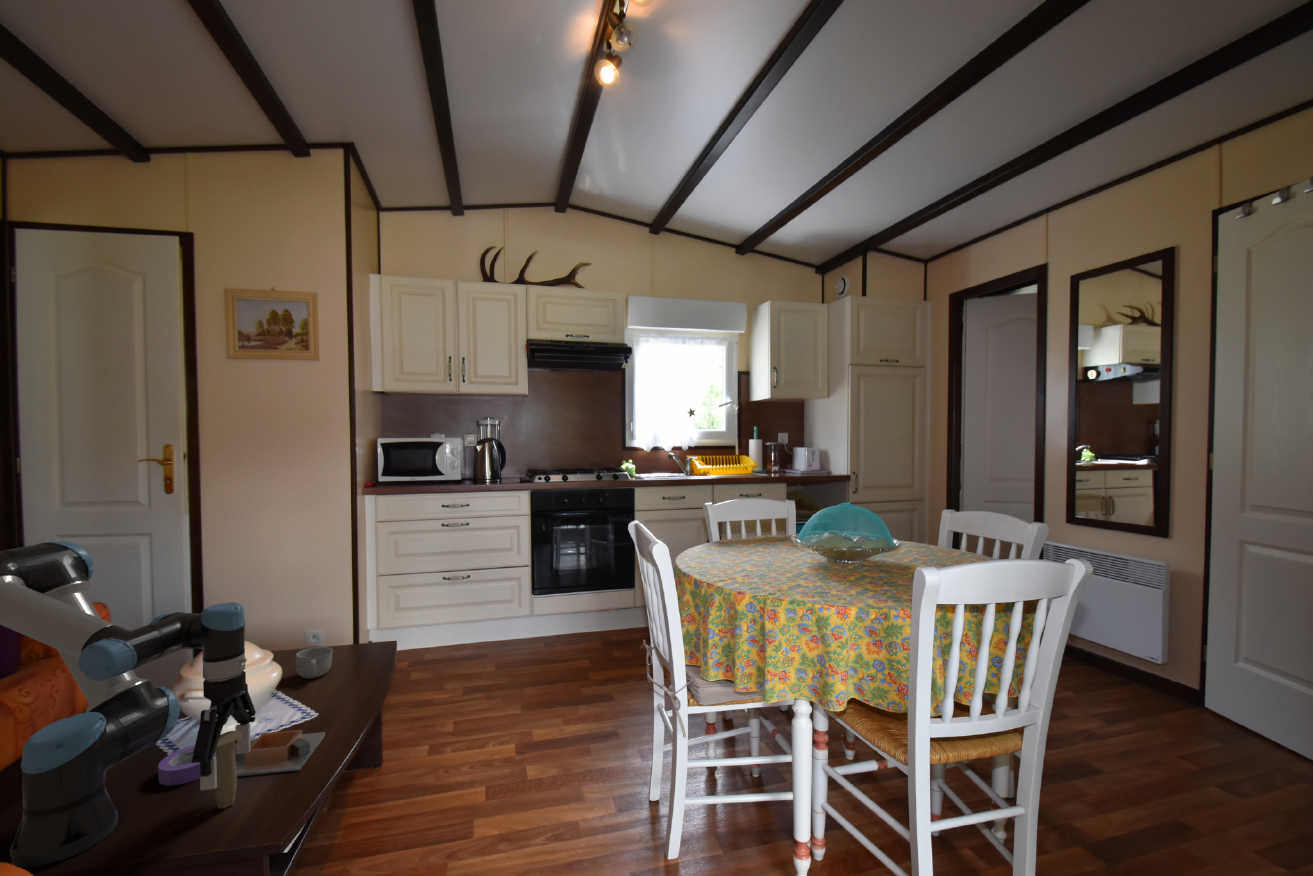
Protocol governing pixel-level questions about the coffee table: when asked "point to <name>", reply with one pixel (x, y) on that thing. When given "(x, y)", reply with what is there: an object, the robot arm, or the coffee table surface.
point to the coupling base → (277, 752)
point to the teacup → (313, 662)
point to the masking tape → (179, 768)
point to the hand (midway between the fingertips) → (226, 769)
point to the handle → (226, 768)
